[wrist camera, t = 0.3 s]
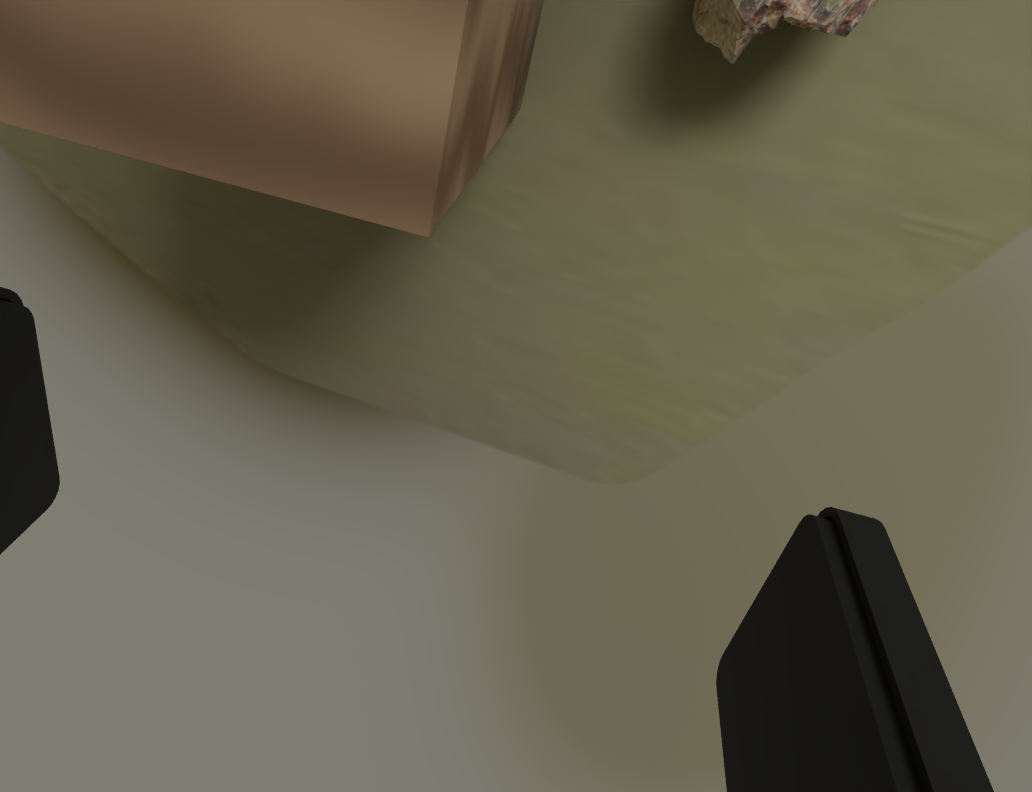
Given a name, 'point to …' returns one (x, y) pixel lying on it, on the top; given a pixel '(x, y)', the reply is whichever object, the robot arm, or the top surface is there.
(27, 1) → the cabinet
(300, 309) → the top surface
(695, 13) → the rock
